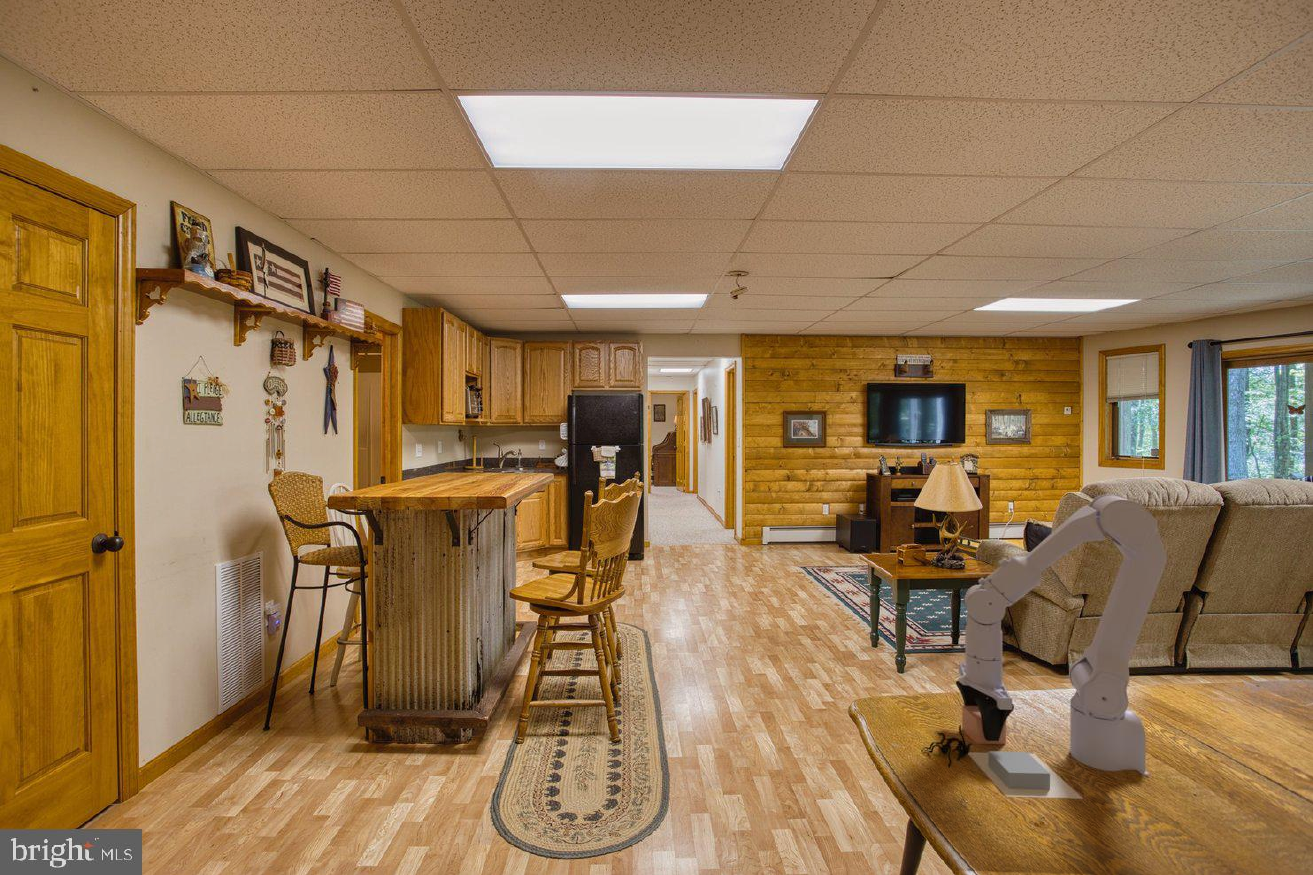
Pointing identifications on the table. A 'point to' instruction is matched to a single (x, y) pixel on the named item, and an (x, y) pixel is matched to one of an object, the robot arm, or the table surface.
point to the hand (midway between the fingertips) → (983, 731)
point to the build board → (1056, 789)
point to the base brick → (1018, 770)
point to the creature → (944, 749)
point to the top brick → (978, 726)
